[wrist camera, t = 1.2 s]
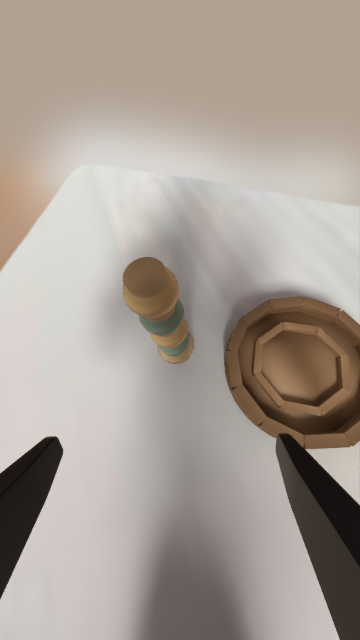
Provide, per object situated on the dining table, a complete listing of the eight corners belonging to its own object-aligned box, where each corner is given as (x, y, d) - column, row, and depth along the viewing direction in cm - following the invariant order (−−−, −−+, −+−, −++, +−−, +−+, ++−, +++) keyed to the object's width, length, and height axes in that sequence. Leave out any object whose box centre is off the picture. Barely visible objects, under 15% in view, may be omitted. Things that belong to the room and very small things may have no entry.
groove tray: (293, 482, 19) (304, 491, 17) (198, 350, 24) (197, 344, 22) (407, 387, 21) (430, 384, 19) (295, 284, 26) (303, 273, 24)
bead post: (170, 370, 24) (129, 322, 11) (152, 342, 25) (97, 269, 12) (200, 350, 24) (195, 280, 11) (181, 323, 26) (156, 235, 13)
